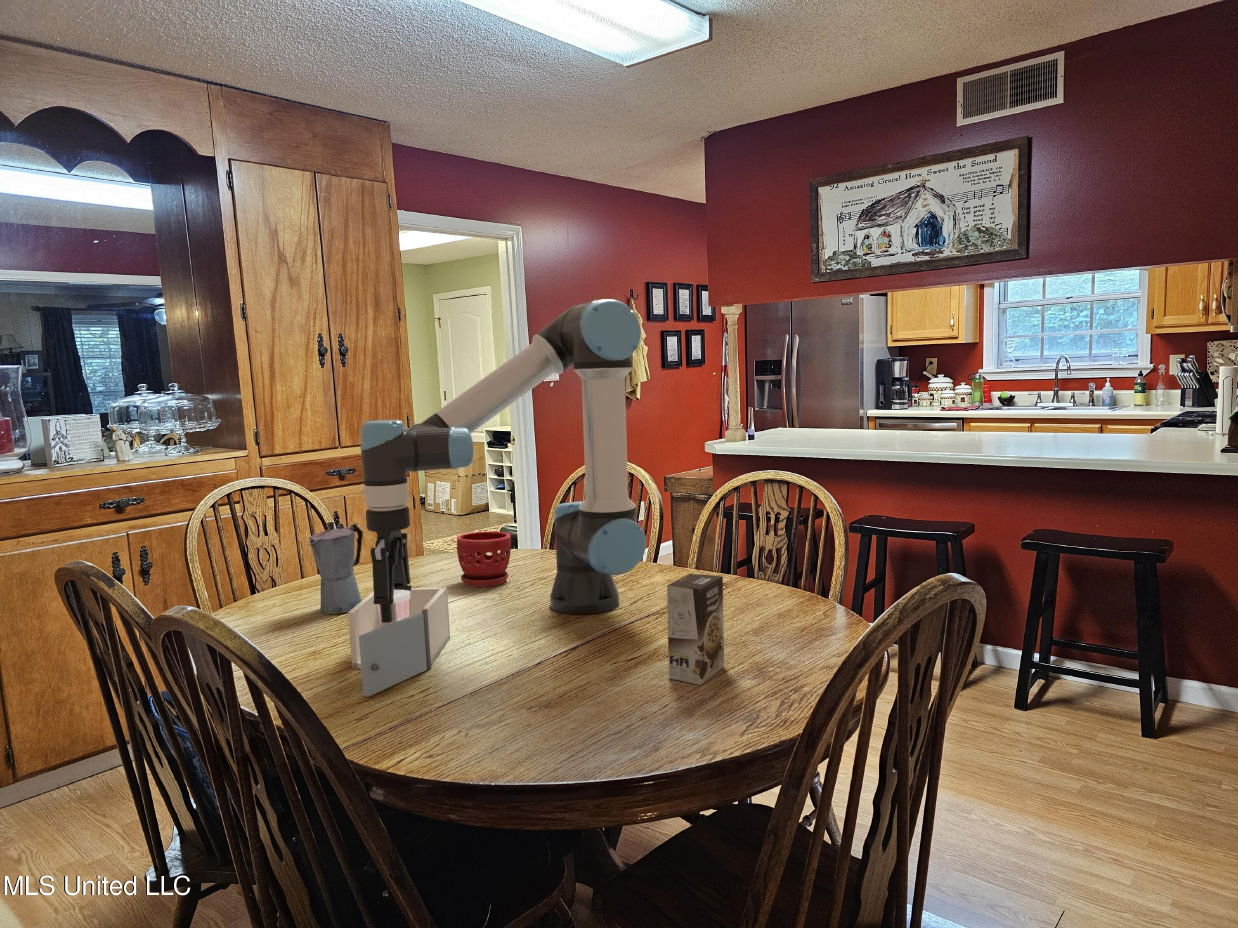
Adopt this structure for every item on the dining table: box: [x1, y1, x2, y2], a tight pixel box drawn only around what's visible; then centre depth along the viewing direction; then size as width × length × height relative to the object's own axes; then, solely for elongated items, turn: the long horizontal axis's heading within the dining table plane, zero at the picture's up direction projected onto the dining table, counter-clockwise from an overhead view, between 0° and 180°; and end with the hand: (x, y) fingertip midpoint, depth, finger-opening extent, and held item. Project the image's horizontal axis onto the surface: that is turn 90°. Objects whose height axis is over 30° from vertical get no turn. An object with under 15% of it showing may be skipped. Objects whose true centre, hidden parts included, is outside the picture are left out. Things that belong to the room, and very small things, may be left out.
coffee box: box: [666, 573, 725, 686], centre depth 134 cm, size 9×6×16 cm
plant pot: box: [456, 531, 512, 588], centre depth 198 cm, size 13×13×12 cm
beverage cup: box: [378, 590, 410, 625], centre depth 145 cm, size 6×6×14 cm
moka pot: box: [307, 521, 364, 615], centre depth 179 cm, size 10×15×20 cm, turn 158°
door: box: [359, 613, 428, 698], centre depth 134 cm, size 13×2×10 cm, turn 148°
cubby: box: [347, 587, 451, 671], centre depth 149 cm, size 14×16×11 cm
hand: (395, 631), depth 146 cm, fingers closed on beverage cup, 6 cm apart
